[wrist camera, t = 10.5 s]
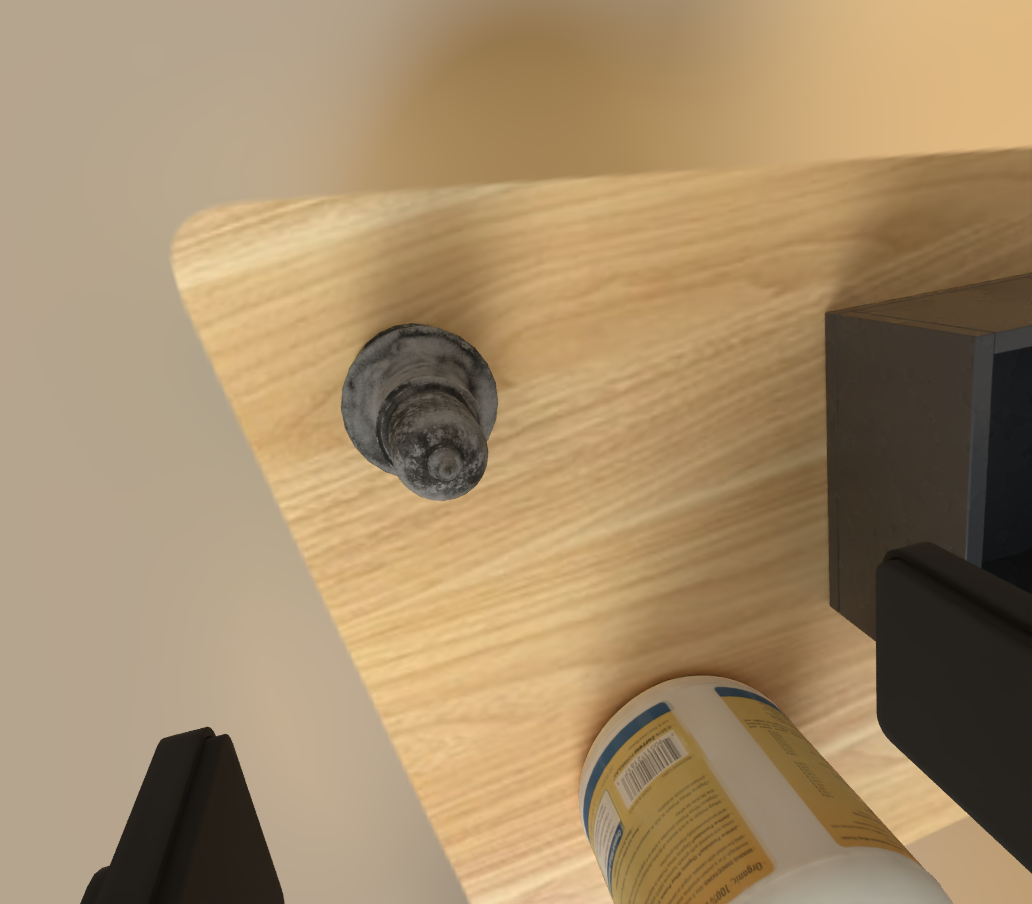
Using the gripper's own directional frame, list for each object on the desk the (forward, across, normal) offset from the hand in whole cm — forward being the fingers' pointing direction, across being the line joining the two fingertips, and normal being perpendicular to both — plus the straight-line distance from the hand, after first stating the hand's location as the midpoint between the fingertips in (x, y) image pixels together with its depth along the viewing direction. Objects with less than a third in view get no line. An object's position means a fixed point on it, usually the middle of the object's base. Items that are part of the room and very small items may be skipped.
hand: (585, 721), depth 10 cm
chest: (+22, -25, +8) cm, 35 cm away
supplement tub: (+23, -9, +22) cm, 33 cm away
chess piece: (+22, +1, -1) cm, 22 cm away
